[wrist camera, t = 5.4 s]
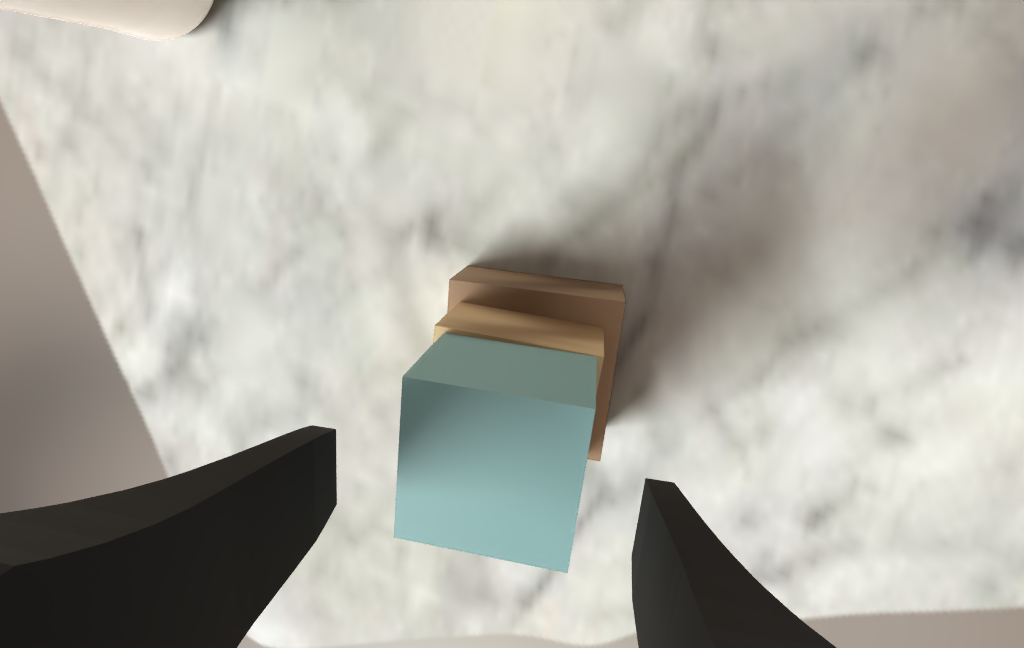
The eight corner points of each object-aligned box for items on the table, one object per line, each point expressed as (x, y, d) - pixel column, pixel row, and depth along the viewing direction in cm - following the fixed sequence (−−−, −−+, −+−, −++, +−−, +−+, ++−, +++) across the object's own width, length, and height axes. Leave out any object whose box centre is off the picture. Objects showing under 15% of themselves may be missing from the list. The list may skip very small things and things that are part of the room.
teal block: (597, 356, 15) (595, 409, 12) (574, 492, 17) (567, 572, 13) (443, 332, 16) (402, 376, 13) (433, 465, 17) (393, 537, 14)
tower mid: (603, 327, 18) (604, 356, 15) (577, 456, 20) (573, 505, 17) (460, 301, 19) (434, 325, 16) (445, 429, 20) (419, 472, 17)
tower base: (621, 283, 21) (625, 301, 18) (599, 423, 23) (600, 461, 20) (469, 264, 21) (449, 279, 19) (459, 402, 23) (439, 435, 20)
